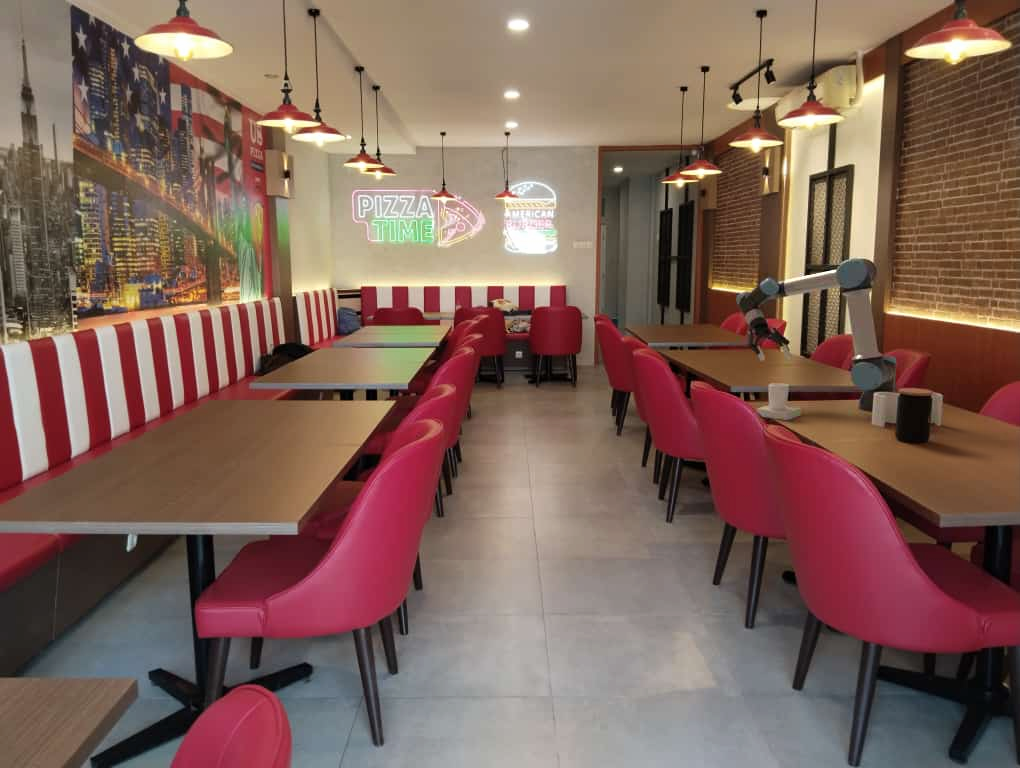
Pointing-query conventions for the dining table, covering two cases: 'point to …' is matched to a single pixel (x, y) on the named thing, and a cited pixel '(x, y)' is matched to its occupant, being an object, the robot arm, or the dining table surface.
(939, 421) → the bracket
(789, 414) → the plinth
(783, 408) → the white cup
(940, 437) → the dining table surface
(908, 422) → the coffee jar
